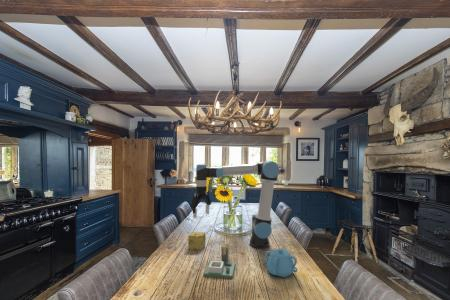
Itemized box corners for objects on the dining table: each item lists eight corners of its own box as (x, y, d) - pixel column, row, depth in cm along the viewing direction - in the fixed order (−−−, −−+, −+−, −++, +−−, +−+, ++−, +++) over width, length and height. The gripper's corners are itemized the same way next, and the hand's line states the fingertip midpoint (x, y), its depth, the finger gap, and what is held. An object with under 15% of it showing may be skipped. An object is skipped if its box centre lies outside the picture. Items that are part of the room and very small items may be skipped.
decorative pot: (299, 279, 135) (299, 254, 135) (271, 280, 133) (271, 255, 133) (288, 266, 151) (289, 244, 151) (263, 267, 149) (263, 244, 150)
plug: (228, 259, 160) (228, 244, 160) (227, 263, 154) (227, 247, 155) (222, 259, 160) (222, 243, 161) (221, 262, 155) (221, 246, 155)
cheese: (201, 250, 175) (201, 236, 175) (187, 249, 177) (187, 235, 177) (205, 245, 185) (205, 232, 185) (192, 244, 187) (192, 231, 187)
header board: (235, 264, 153) (235, 257, 153) (232, 278, 135) (232, 270, 135) (210, 262, 155) (210, 255, 155) (203, 276, 137) (203, 268, 137)
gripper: (208, 184, 188) (208, 211, 187) (185, 187, 168) (185, 218, 167) (216, 184, 184) (216, 213, 183) (193, 188, 163) (193, 220, 163)
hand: (201, 215), depth 175 cm, fingers open, 13 cm apart
